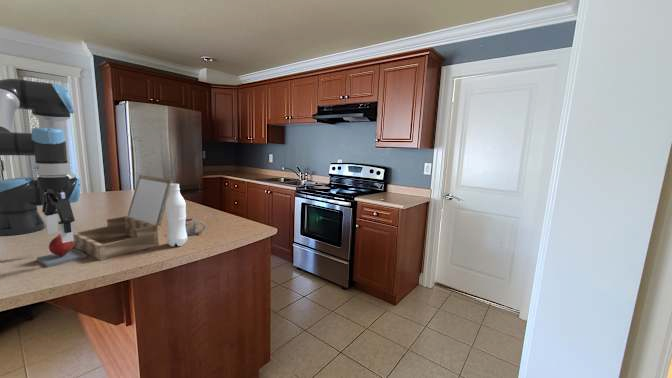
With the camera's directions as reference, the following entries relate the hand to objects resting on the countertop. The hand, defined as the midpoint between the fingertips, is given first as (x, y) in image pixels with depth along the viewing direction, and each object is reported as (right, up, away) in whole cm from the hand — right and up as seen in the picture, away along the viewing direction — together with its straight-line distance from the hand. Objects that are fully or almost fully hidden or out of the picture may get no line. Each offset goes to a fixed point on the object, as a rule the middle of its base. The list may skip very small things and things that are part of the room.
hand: (60, 237), depth 94 cm
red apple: (0, -7, +1) cm, 7 cm away
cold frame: (+7, -6, +15) cm, 18 cm away
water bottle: (+30, -6, +18) cm, 35 cm away
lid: (+14, +12, +23) cm, 30 cm away
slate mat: (0, -8, +1) cm, 8 cm away
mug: (+28, -4, +32) cm, 43 cm away
